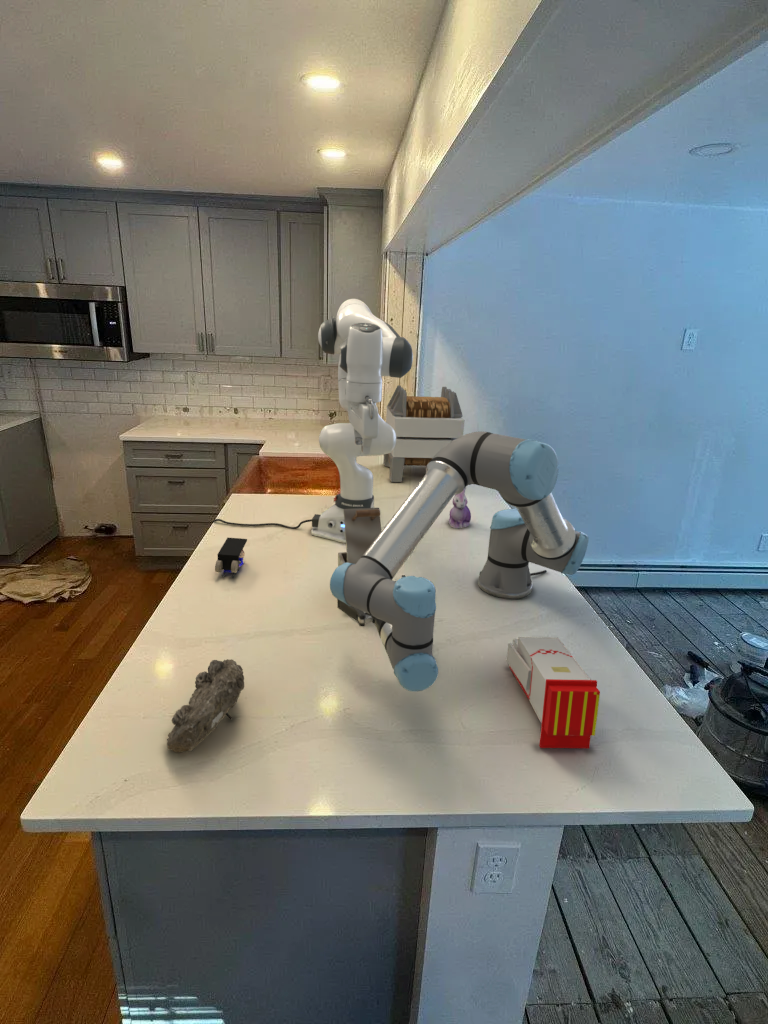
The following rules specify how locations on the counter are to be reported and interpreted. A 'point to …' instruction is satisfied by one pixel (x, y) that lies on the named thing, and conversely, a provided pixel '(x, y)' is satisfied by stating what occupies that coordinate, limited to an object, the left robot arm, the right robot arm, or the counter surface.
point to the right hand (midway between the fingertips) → (375, 582)
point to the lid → (360, 531)
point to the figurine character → (230, 556)
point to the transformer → (421, 428)
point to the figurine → (460, 511)
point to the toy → (555, 691)
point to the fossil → (206, 705)
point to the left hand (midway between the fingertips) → (362, 448)
